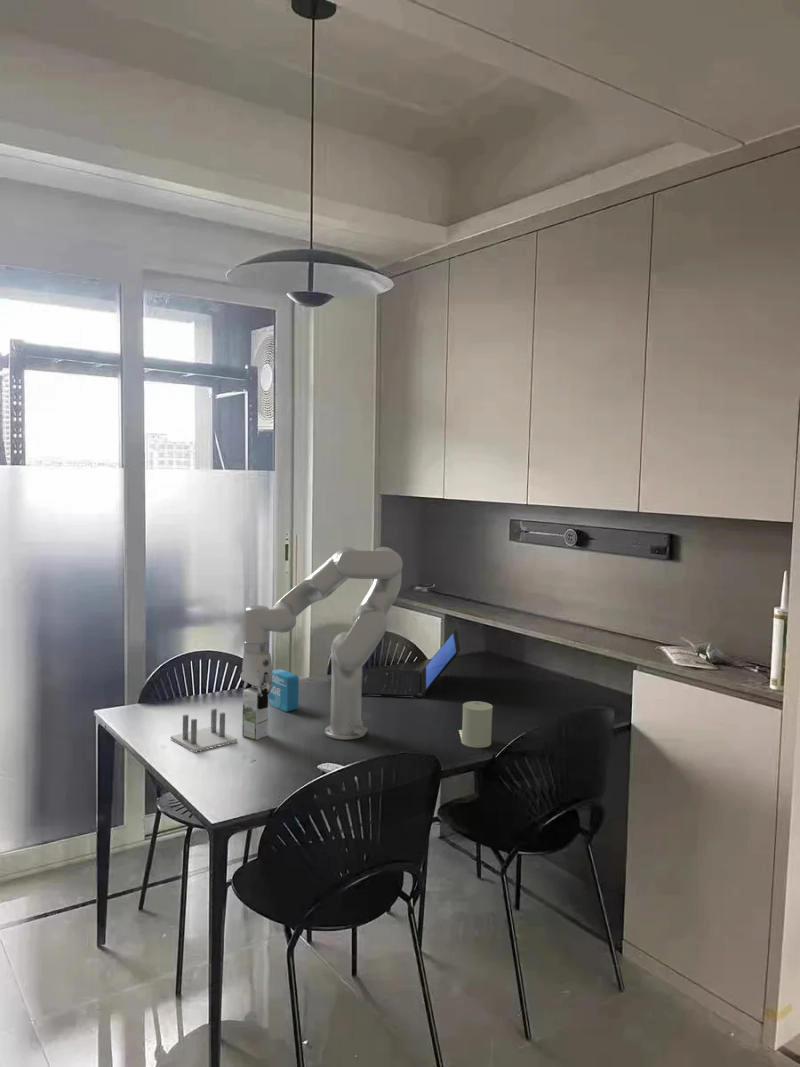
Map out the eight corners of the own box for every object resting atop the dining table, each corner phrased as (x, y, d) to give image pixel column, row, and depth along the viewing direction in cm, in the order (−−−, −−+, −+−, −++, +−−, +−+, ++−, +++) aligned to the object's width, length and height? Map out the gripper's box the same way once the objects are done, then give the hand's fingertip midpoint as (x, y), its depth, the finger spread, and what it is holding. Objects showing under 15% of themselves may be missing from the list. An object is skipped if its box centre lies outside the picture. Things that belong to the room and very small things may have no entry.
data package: (267, 704, 270) (267, 670, 269) (278, 702, 274) (278, 668, 273) (287, 713, 262) (288, 677, 261) (298, 710, 265) (299, 675, 264)
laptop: (361, 673, 317) (363, 625, 315) (455, 676, 315) (457, 629, 314) (353, 697, 283) (355, 644, 282) (458, 701, 282) (460, 648, 281)
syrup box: (268, 735, 240) (269, 688, 239) (255, 740, 235) (256, 693, 234) (254, 731, 243) (255, 685, 242) (241, 736, 238) (242, 689, 236)
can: (487, 737, 245) (488, 699, 244) (494, 747, 236) (496, 708, 235) (458, 737, 244) (459, 699, 243) (464, 748, 235) (466, 708, 234)
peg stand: (237, 742, 233) (237, 715, 233) (194, 752, 224) (194, 725, 223) (212, 729, 243) (212, 704, 243) (170, 739, 234) (170, 713, 233)
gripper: (284, 651, 233) (282, 710, 234) (251, 640, 245) (250, 696, 247) (262, 654, 228) (261, 714, 229) (230, 643, 240) (229, 700, 242)
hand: (255, 704), depth 238 cm, fingers closed on syrup box, 6 cm apart
